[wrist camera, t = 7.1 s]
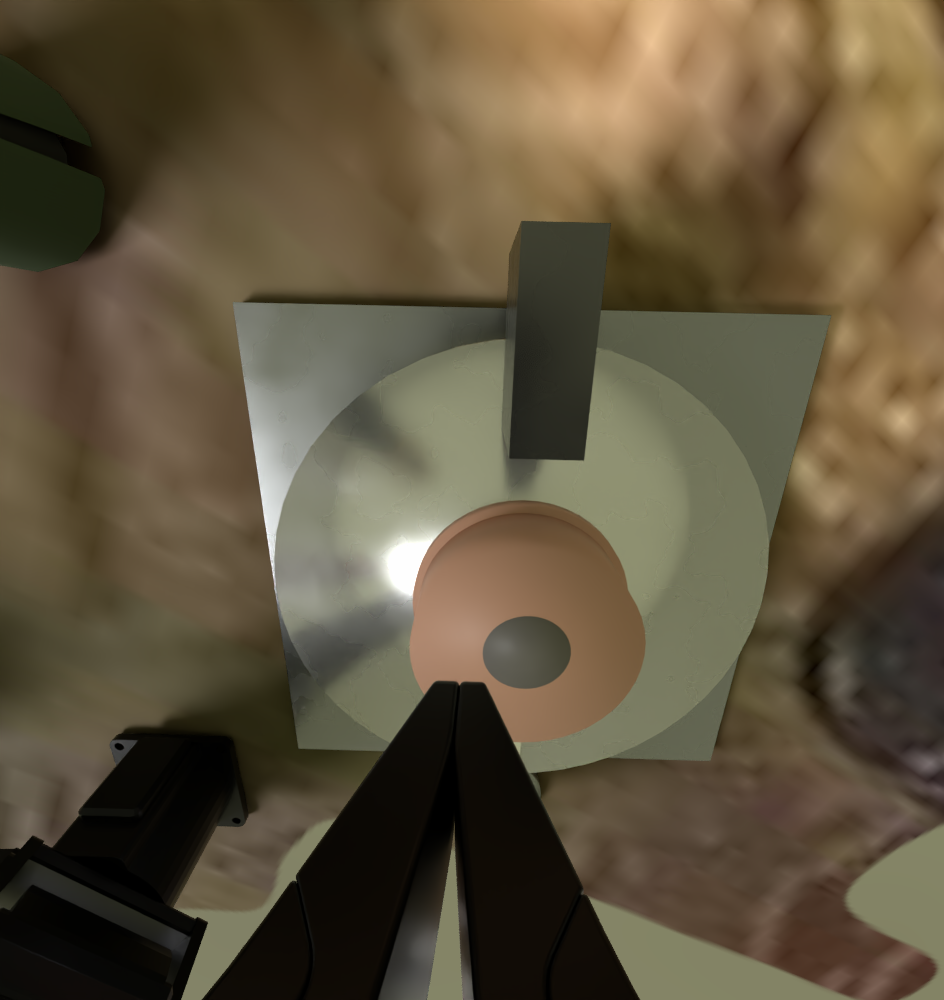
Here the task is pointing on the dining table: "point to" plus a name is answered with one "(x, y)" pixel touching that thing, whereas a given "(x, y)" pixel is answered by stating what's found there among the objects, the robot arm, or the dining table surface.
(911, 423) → the dining table surface
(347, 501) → the turntable
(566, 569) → the cover
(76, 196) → the character mug
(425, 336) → the base plate
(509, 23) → the dining table surface
